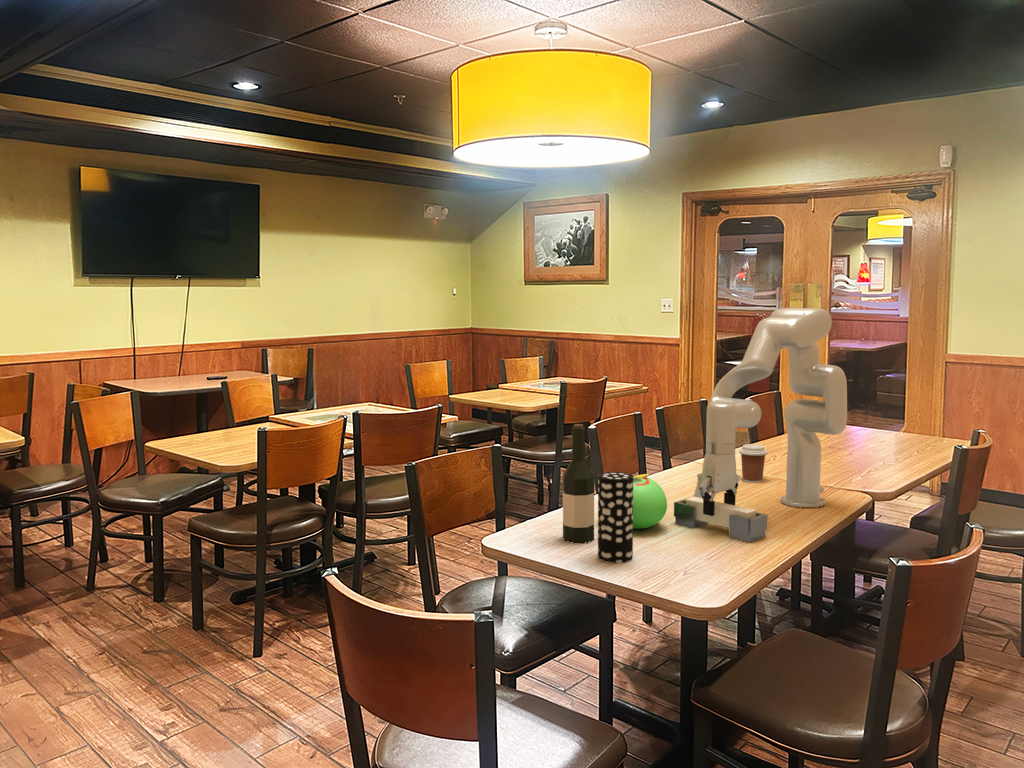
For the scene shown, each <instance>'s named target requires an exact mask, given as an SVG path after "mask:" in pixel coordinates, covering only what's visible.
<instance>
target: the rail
mask: <svg viewBox="0 0 1024 768" xmlns="http://www.w3.org/2000/svg"><path fill="white" fill-rule="evenodd" d="M687 498H688V499H687ZM687 498H685V499H686V504H689V505H693V506H696V520H700V521H704V522H708V524H712V525H717V526H721V527H725V528H729V515H731V514H732V515H737V516H741V517H746V518H750V519H751V518H754V517H756V512H757V510H756V509H752V508H748V507H743V506H739V505H736V504H735V505H730V504H726V503H724V502H720V501H716V500H714V501H715V514H714V516H709V515H705V514H703V500H702V498H698V497H693V496H692V497H687Z"/></svg>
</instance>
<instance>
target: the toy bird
mask: <svg viewBox="0 0 1024 768" xmlns="http://www.w3.org/2000/svg"><path fill="white" fill-rule="evenodd" d="M648 476H650V474H649V473H644V474H638V475H637V474H636V475H633V530H634V529H635V530H636V529H637V530H641V529H648V528H650V527H654V526H655V525H657V524H659V523H660V521H662V519H664V517H665V515H666V512H667V509H668V500H667V499H668V498H667V496H666V494H665V492H664V490H663V488H662V487H661V485H660V484H659V483H657V481H655V480H653V479H652V478H650V477H648Z"/></svg>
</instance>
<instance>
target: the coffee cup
mask: <svg viewBox="0 0 1024 768" xmlns="http://www.w3.org/2000/svg"><path fill="white" fill-rule="evenodd" d="M738 452H739V454H740V456H741V459H740V460H741V471H742V472H741V473H742V474H741V475H742V482H746V483H749V482H750V484H759V482H760V483H762V482H763V477H764V468H765V461H766V460H765V459H766V455H768V451H767V450H766V449H765V446H764V445H762V444H756V443H755V444H752V443H746V444H743V445H742V447H741V448H740V449H739V451H738Z"/></svg>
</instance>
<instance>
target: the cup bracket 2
mask: <svg viewBox="0 0 1024 768" xmlns="http://www.w3.org/2000/svg"><path fill="white" fill-rule="evenodd" d="M768 516H769V515H768V514H766V513H761V512H757V511H756V517H754V518H751V519H750V518H746V517H741V516H737V515H732V514H731V515H729V527H728V538H729V537H730V539H732V540H733V539H734V540H736V541H740V540H742V542H744V541H746V542H745V543H748V542H749V543H753V542H755V541H757V540H760V539H762V538H765V537H766V531H767V530H768V518H769V517H768Z"/></svg>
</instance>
